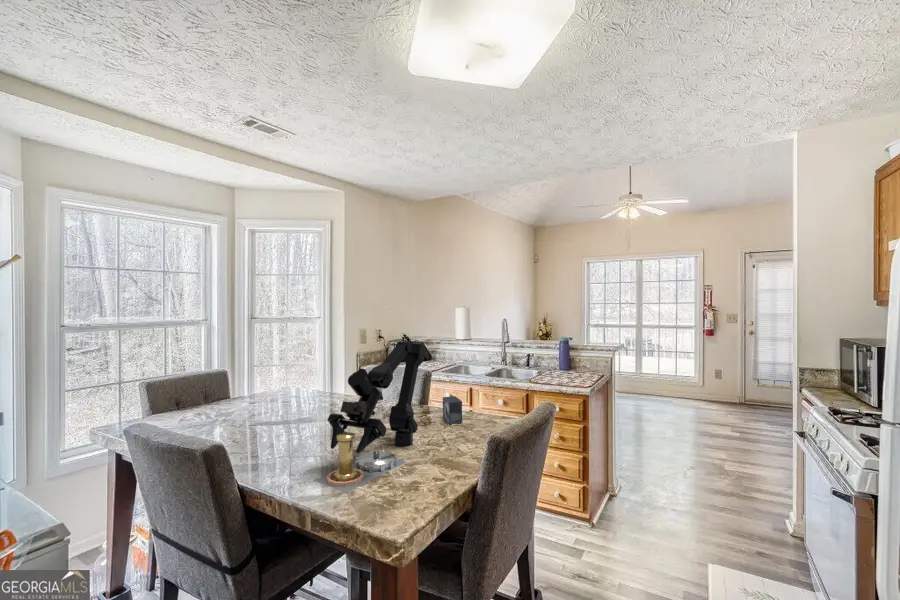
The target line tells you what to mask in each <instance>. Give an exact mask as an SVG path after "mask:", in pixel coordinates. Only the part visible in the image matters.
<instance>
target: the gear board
mask: <svg viewBox="0 0 900 600" xmlns="http://www.w3.org/2000/svg"><path fill="white" fill-rule="evenodd" d="M406 463H407V461H406V460H401V459H398V458H397V465H394V466H393V469H388V470H384V472H380V471H379V472H373V473H369V472H367V471H362V470H360V469H359V468H357V470H358V476H357V478H356V479H354V480H351V481H346V482H337V481H334V472H335V471H338V470H339V468H337V469H336V470H333V471H331V472H329V473H327V474H325V475H322V476H320V477H317V478H315V479H313V482H317V483H319V484H322V485H324V486H327V487H329V488H333V489H335V490H338V491H341V492H344V493H349V492H351V491H352V490H354V489H357V488H358V487H360V486H362V485H364V484H367V483H368V482H370V481H373V480H375V479H376V478H378V477H380V476H382V475H384V474H387V473H389V472H390V471H392V470H394V469H396V468H398V467H401V466H403V465H404V464H406ZM353 469H356V468H355V461H354V462H353Z"/></svg>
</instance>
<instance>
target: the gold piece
mask: <svg viewBox="0 0 900 600" xmlns="http://www.w3.org/2000/svg"><path fill="white" fill-rule="evenodd" d="M355 439H356V433H355V432H352V431H351V432H350V431H345V432H344V433H340V434H338V435H337V441H339V442H338V469H339V470H338V469H337V470H338V471H335V470H334V471H335V472H334V481H337V482H346V481H351V480H354V479H356V478H357V476H358V470H357V469H353V463H354V462H353V461H354V460H353V459H354V456H353V455H354V452H353V451H354V440H355Z"/></svg>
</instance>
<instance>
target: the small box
mask: <svg viewBox="0 0 900 600" xmlns="http://www.w3.org/2000/svg"><path fill="white" fill-rule="evenodd" d="M443 419H444V420H445V421H446V422H447V423H448V424H449V425H452V424H461V423H462V424H463V401H462V400H461V399H460V398H458V397H457V396H455V395H453V396H452V395H451V396H442V420H443ZM444 420H443V421H444ZM445 421H444V422H445ZM446 422H445V423H446ZM447 423H446V424H447ZM448 424H447V425H448ZM449 425H448V426H449Z"/></svg>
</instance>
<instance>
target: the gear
mask: <svg viewBox="0 0 900 600" xmlns="http://www.w3.org/2000/svg"><path fill="white" fill-rule="evenodd" d="M354 459H355V460H354V462H355V468H356V469H357V468H359V469H360V470H362V471H367V472H369V473H373V472H379V471H380V472H384V470H388V469H392V470H394V469H393V466H394V465H397V459H398V458H397V454H396V453H394V454H393V453H392V451H384V450H374V451H372V450H370V451H368V452H365V453H364V452H362V453H359V456H355V458H354Z"/></svg>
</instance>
